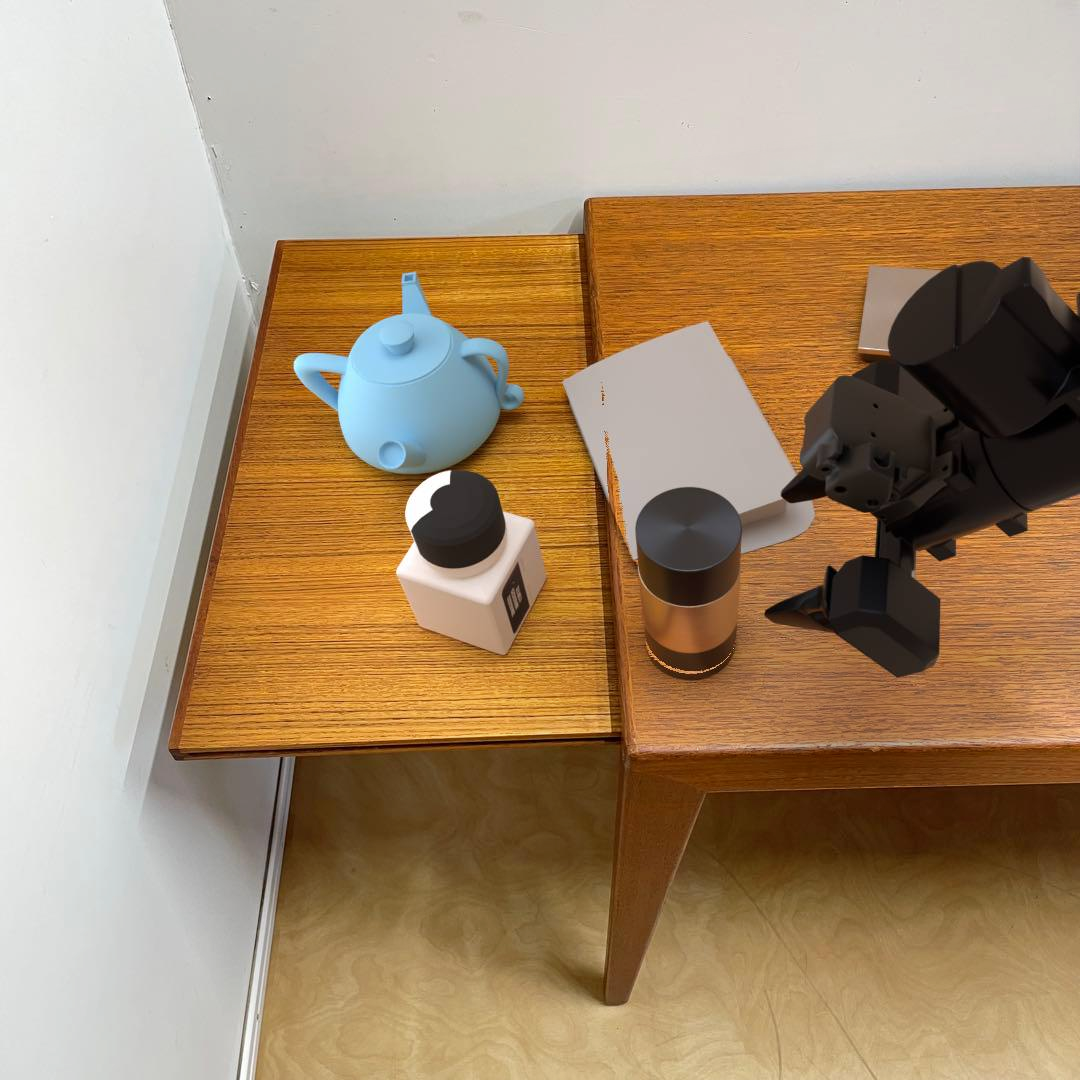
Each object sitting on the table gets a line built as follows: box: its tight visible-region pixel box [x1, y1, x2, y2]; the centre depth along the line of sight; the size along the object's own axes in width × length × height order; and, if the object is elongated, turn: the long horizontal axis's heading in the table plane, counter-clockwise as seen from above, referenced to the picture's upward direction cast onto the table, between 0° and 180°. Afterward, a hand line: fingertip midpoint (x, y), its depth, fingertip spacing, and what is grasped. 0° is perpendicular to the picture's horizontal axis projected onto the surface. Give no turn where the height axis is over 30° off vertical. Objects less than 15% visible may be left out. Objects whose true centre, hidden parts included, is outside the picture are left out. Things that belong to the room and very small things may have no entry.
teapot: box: [293, 271, 525, 475], centre depth 85 cm, size 15×17×11 cm
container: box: [395, 469, 547, 656], centre depth 72 cm, size 8×8×13 cm
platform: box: [856, 265, 942, 363], centre depth 88 cm, size 11×11×2 cm
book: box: [561, 320, 816, 561], centre depth 82 cm, size 15×23×4 cm, turn 15°
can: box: [635, 487, 742, 681], centre depth 67 cm, size 7×7×14 cm
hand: (777, 555), depth 62 cm, fingers open, 9 cm apart
